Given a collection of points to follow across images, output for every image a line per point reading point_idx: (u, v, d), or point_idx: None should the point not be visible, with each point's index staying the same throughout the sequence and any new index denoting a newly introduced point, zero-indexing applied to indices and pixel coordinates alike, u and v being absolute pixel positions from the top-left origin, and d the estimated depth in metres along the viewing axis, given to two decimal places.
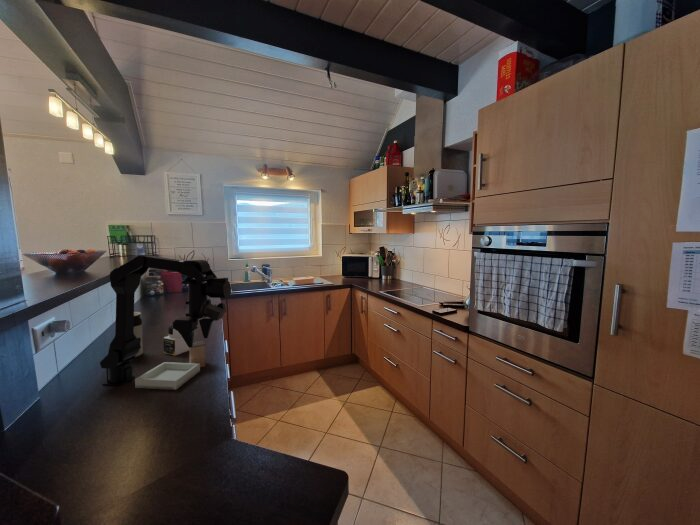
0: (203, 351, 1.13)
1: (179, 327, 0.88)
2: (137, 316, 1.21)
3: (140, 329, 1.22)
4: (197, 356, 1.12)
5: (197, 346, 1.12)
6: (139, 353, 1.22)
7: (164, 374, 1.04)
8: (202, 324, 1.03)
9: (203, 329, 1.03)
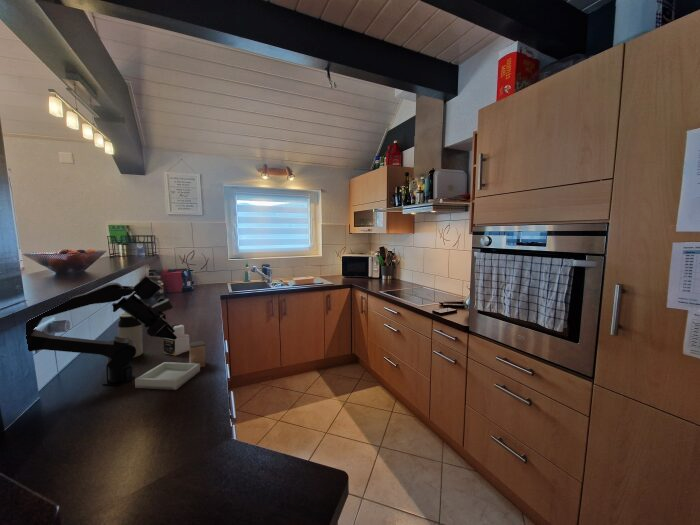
0: (203, 351, 1.13)
1: (156, 330, 0.98)
2: None
3: (140, 329, 1.22)
4: (197, 356, 1.12)
5: (197, 346, 1.12)
6: (139, 353, 1.22)
7: (164, 374, 1.04)
8: None
9: None
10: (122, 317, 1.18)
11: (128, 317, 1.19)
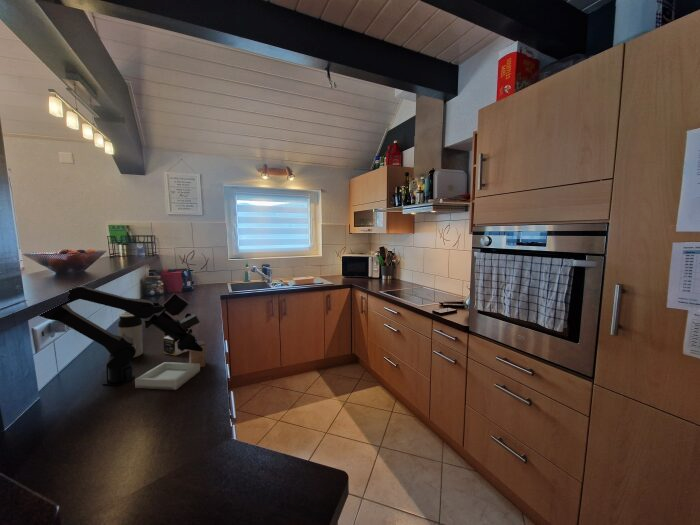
0: (203, 351, 1.13)
1: (186, 345, 1.03)
2: None
3: (140, 329, 1.22)
4: (197, 356, 1.12)
5: None
6: (139, 353, 1.22)
7: (164, 374, 1.04)
8: None
9: None
10: (122, 317, 1.18)
11: (128, 317, 1.19)
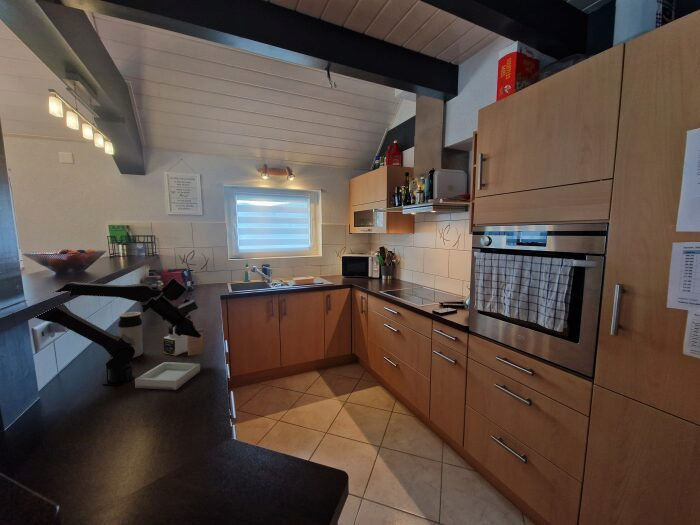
0: (201, 337, 1.11)
1: (184, 329, 1.02)
2: (137, 316, 1.21)
3: (140, 329, 1.22)
4: (195, 342, 1.10)
5: None
6: (139, 353, 1.22)
7: (164, 374, 1.04)
8: None
9: None
10: (122, 317, 1.18)
11: (128, 317, 1.19)
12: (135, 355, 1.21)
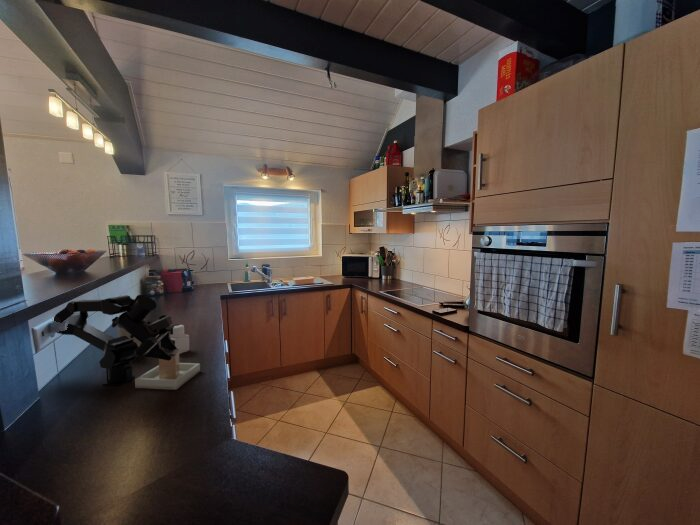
0: (173, 362, 1.00)
1: (144, 351, 0.91)
2: None
3: None
4: (166, 366, 1.00)
5: None
6: None
7: None
8: (163, 345, 1.05)
9: (168, 347, 1.05)
10: None
11: None
12: None
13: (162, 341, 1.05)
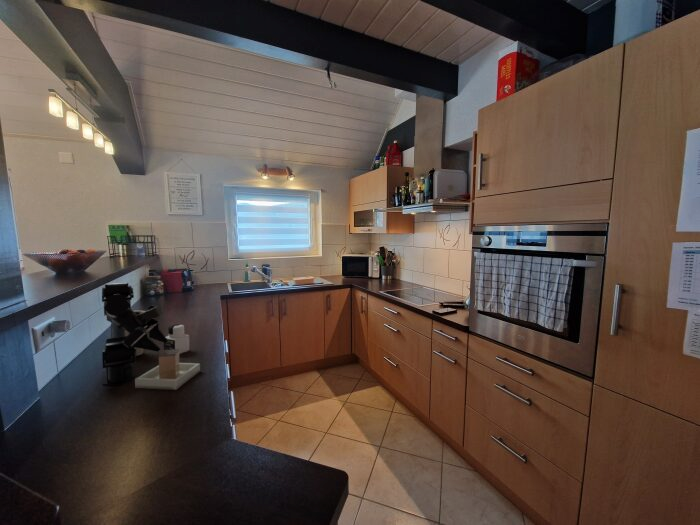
0: (173, 362, 1.00)
1: (132, 340, 0.91)
2: None
3: None
4: (166, 366, 1.00)
5: (166, 356, 0.99)
6: (139, 353, 1.22)
7: None
8: (152, 335, 1.05)
9: (157, 338, 1.05)
10: None
11: None
12: None
13: (152, 332, 1.04)
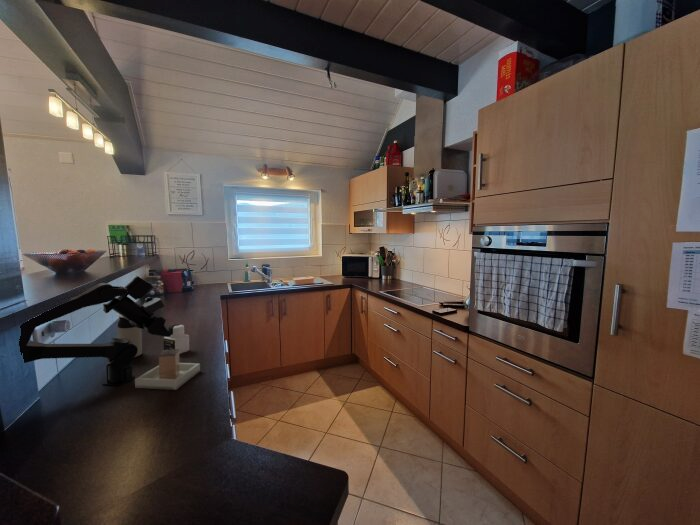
0: (173, 362, 1.00)
1: (157, 327, 1.00)
2: None
3: (139, 330, 1.22)
4: (166, 366, 1.00)
5: (166, 356, 0.99)
6: (138, 353, 1.22)
7: None
8: None
9: None
10: (121, 318, 1.17)
11: None
12: None
13: (145, 323, 1.10)
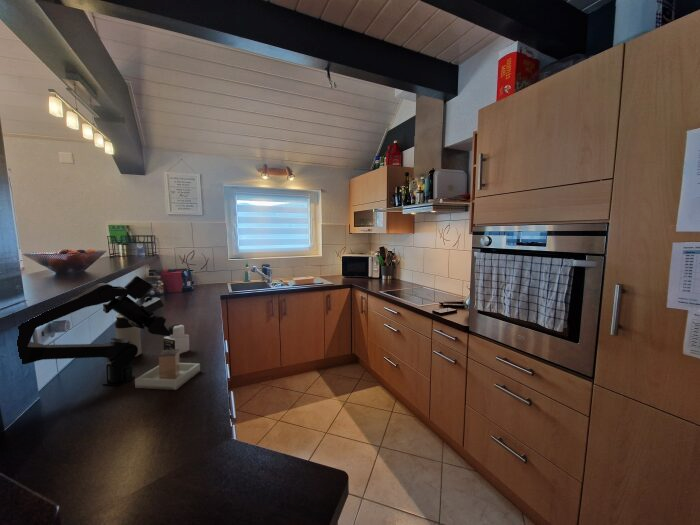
0: (173, 362, 1.00)
1: (157, 327, 1.01)
2: None
3: (137, 329, 1.21)
4: (166, 366, 1.00)
5: (166, 356, 0.99)
6: (137, 353, 1.21)
7: None
8: None
9: None
10: (118, 318, 1.17)
11: (124, 318, 1.17)
12: None
13: (144, 323, 1.10)
